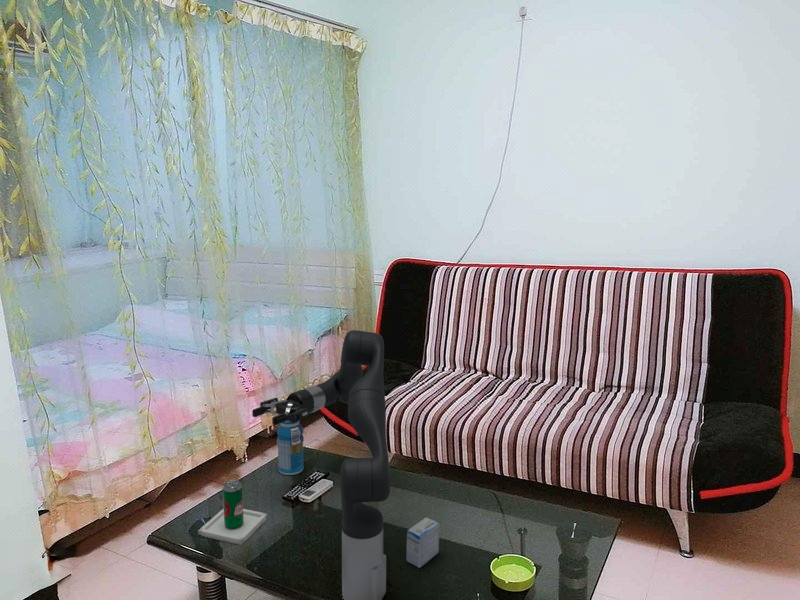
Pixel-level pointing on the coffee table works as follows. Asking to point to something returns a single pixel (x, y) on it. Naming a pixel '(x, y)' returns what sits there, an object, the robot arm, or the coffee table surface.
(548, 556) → the coffee table surface
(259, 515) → the tray
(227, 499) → the soda can
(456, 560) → the coffee table surface
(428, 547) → the medicine box
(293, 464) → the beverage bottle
